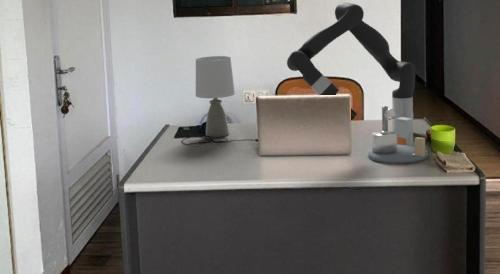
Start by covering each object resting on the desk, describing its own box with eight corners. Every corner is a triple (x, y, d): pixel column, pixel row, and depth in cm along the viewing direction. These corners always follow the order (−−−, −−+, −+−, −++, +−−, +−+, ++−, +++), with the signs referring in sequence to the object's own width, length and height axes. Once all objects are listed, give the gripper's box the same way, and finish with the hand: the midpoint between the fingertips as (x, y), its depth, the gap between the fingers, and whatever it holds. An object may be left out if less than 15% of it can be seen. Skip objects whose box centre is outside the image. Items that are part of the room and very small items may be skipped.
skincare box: (396, 145, 330) (396, 118, 328) (402, 143, 333) (402, 116, 330) (406, 147, 326) (406, 120, 323) (413, 145, 328) (413, 118, 325)
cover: (380, 147, 320) (380, 127, 318) (401, 150, 313) (401, 130, 311) (367, 152, 312) (367, 132, 310) (388, 155, 306) (388, 135, 304)
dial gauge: (383, 145, 330) (382, 104, 326) (403, 148, 324) (403, 106, 319) (373, 149, 324) (372, 108, 320) (393, 152, 318) (393, 110, 313)
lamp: (191, 138, 362) (186, 60, 353) (208, 129, 378) (204, 55, 370) (227, 140, 354) (222, 61, 346) (242, 131, 371) (239, 55, 363)
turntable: (387, 146, 328) (387, 126, 326) (438, 153, 313) (438, 132, 311) (356, 158, 310) (356, 137, 309) (409, 166, 295) (409, 144, 293)
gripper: (328, 85, 305) (358, 114, 305) (334, 79, 319) (363, 107, 318) (315, 98, 308) (345, 127, 307) (321, 91, 321) (350, 120, 321)
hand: (354, 117), depth 313 cm, fingers open, 5 cm apart
